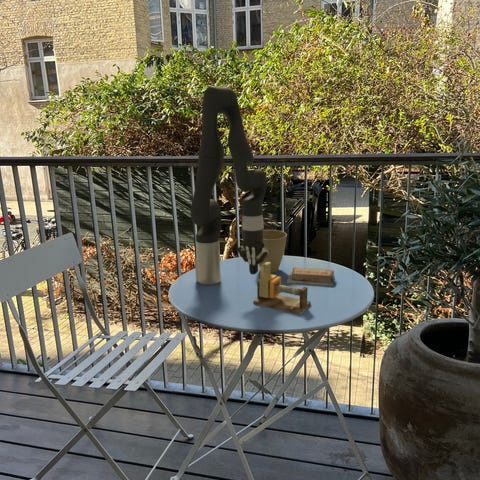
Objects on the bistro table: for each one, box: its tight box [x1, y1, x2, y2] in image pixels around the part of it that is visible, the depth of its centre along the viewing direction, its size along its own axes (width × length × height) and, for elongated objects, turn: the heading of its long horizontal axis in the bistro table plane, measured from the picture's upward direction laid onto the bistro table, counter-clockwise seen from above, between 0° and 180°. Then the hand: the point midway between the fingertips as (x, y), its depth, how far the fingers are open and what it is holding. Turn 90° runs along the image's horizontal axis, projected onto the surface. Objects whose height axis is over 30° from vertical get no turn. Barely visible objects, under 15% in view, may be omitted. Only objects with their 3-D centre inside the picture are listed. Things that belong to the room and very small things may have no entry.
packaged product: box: [286, 266, 336, 287], centre depth 182 cm, size 18×5×10 cm
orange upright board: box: [270, 276, 282, 298], centre depth 160 cm, size 1×6×6 cm, turn 148°
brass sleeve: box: [258, 262, 278, 298], centre depth 161 cm, size 4×6×11 cm, turn 148°
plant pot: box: [258, 229, 288, 274], centre depth 193 cm, size 15×15×16 cm
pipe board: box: [253, 280, 312, 315], centre depth 159 cm, size 18×9×8 cm, turn 58°
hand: (253, 273), depth 164 cm, fingers closed
